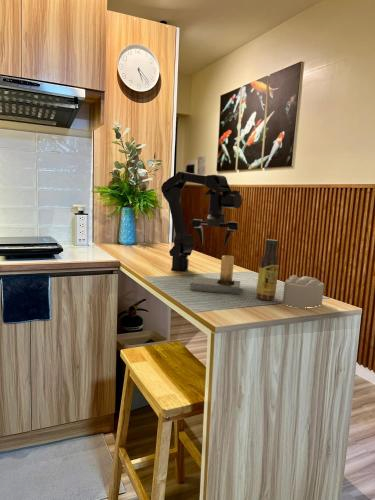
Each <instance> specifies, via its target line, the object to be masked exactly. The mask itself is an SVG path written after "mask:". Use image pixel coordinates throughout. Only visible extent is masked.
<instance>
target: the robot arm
mask: <svg viewBox="0 0 375 500" xmlns="http://www.w3.org/2000/svg"><path fill="white" fill-rule="evenodd" d="M187 182H188V183H193V184H199V185H202V186H203V187H206V188H208V190H207V191H206V192H205V193H204V195H205V196H209V198H208V199H209V200H208V212H207V217H206V221H203V219H201V218H200V219H198V218H194V219H192V220H191V221H190V227H193V229H194V230H196V231H197V233H198V236H199V241H200V244H201V246H203V245H204V231H203V230H204V229H203V228H204V227H214V228H227V230H226V233H225V239H224V242H223V243H224V245H223V247H224V248H225V247H226V245H227V244H228V241H229V238H230V235H231V234H232V232H233V233H235V231H237V230H239V222H238V221H227V222H226V214H223V213H224V212H223V211H224V208H225V209H234V210H235V209H237V210H238V209H240V208H241V206H242V203H243V198H242V196H241V194H240V190H232V188H231V187H230V185H229V183H228V180H227V178H226V176H225V175H222V174H220V175H219V174H206V175H203V174H197V173H191V172H187V171H183V170H181V171H178V172H176V173H175V174H174V175H173V176H171V177H169V178H168V179H167V180H166V181H164V182H163V183H162V184H161V187H160V188H161V189H160V190H161V193H162V196H163V198H164V199H165V200H166V201H167V203H168V207H169V211H170V214H171V219H172V223H173V228H174V232H175V235H174V238H173V247H171V249H170V250H168V251H169V256H171V257H172V260H171V261H172V262H171V267H170V268H171V269H170V270H171V271H180V272H186V271H187V270H188V269H189V266H190V265H189V264H190V263H189V261H190V259H189V258H188V257H190V256H191V254H192V252H193V250H194V249H195V244H196V243H195V241H194V236H193V234H189V233H188V231H187V227H186V223H185V217H184V215H183V209H182V205H181V201H180V200H181V196H182V190H183V189H184V187H185V186H186V183H187Z"/></svg>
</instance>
